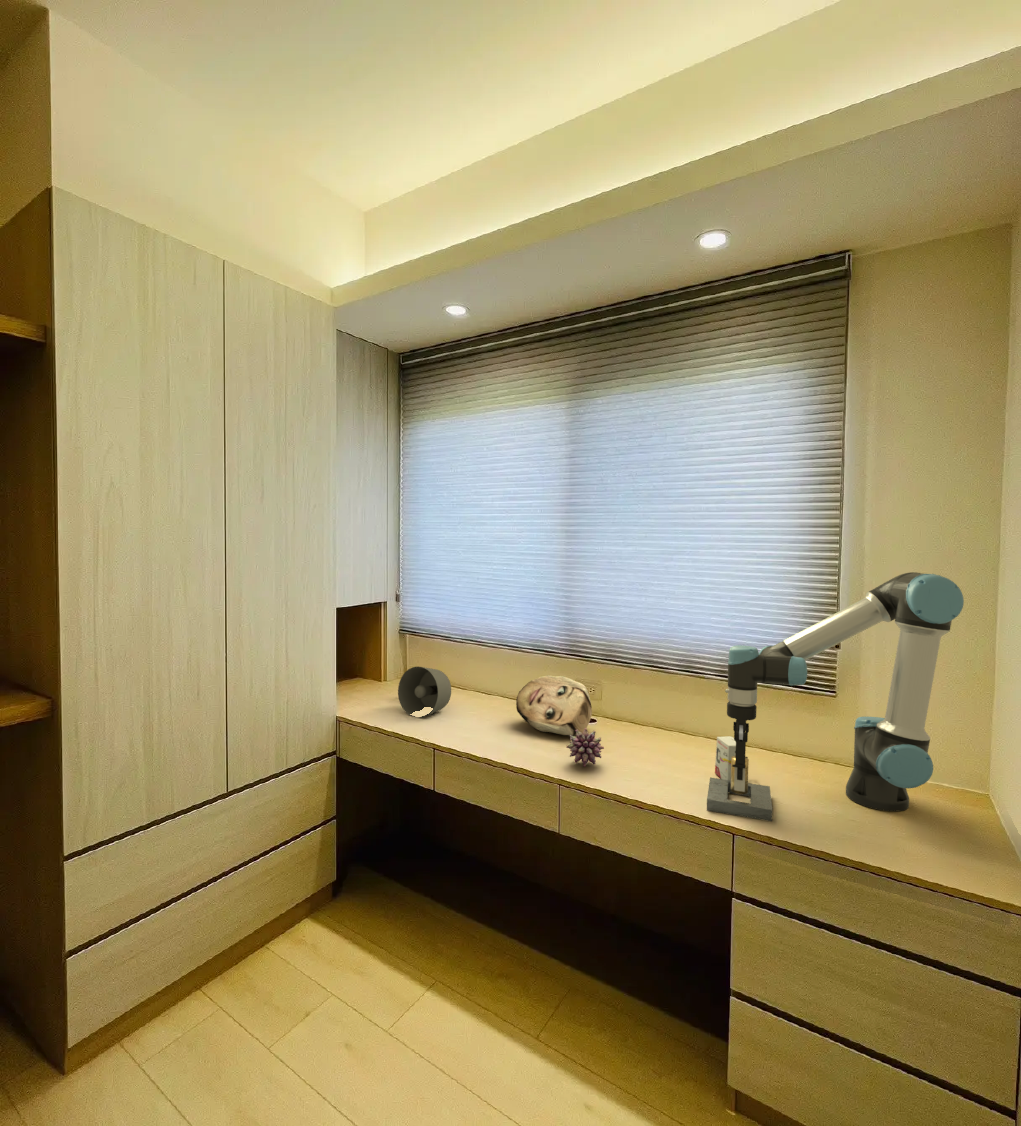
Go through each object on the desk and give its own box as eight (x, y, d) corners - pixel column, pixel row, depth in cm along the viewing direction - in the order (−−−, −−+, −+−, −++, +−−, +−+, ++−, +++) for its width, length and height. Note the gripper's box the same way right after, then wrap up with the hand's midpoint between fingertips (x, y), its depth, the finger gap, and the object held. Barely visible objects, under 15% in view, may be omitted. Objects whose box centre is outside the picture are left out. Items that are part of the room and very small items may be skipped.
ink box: (714, 773, 182) (715, 736, 182) (729, 773, 183) (730, 735, 183) (727, 785, 174) (728, 745, 173) (743, 784, 174) (744, 745, 174)
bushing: (747, 789, 163) (748, 757, 162) (747, 795, 158) (748, 762, 158) (730, 786, 164) (731, 754, 164) (730, 792, 160) (731, 760, 160)
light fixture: (438, 667, 233) (474, 665, 257) (388, 665, 246) (427, 662, 269) (436, 720, 231) (473, 712, 254) (386, 714, 243) (426, 708, 267)
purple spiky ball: (590, 775, 179) (590, 737, 179) (559, 765, 187) (559, 728, 187) (610, 765, 188) (611, 728, 187) (580, 756, 196) (580, 720, 196)
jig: (769, 796, 166) (769, 786, 166) (772, 821, 151) (772, 810, 151) (709, 787, 172) (710, 777, 172) (706, 810, 157) (706, 799, 157)
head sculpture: (520, 739, 232) (581, 756, 215) (503, 714, 222) (566, 730, 206) (544, 693, 245) (604, 706, 228) (530, 668, 235) (591, 679, 218)
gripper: (727, 693, 170) (725, 773, 171) (726, 709, 154) (723, 797, 155) (755, 696, 167) (753, 777, 168) (757, 712, 151) (754, 802, 152)
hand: (739, 786), depth 161 cm, fingers closed on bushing, 4 cm apart
